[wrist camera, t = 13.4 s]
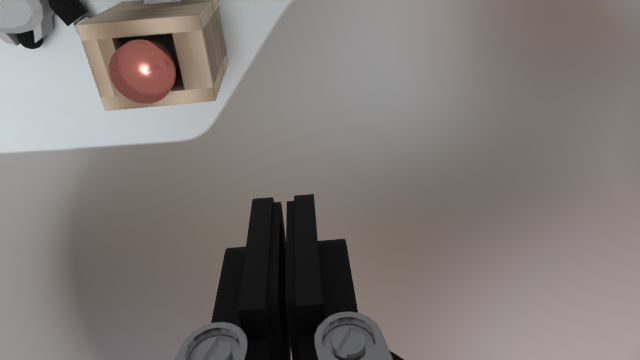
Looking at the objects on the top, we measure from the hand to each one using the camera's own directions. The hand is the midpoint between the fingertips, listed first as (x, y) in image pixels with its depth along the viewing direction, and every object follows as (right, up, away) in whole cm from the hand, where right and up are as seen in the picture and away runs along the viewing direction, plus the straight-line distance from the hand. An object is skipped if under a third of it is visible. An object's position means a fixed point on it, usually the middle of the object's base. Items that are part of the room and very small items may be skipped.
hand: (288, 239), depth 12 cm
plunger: (-11, +12, +21) cm, 27 cm away
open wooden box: (-12, +15, +27) cm, 33 cm away
